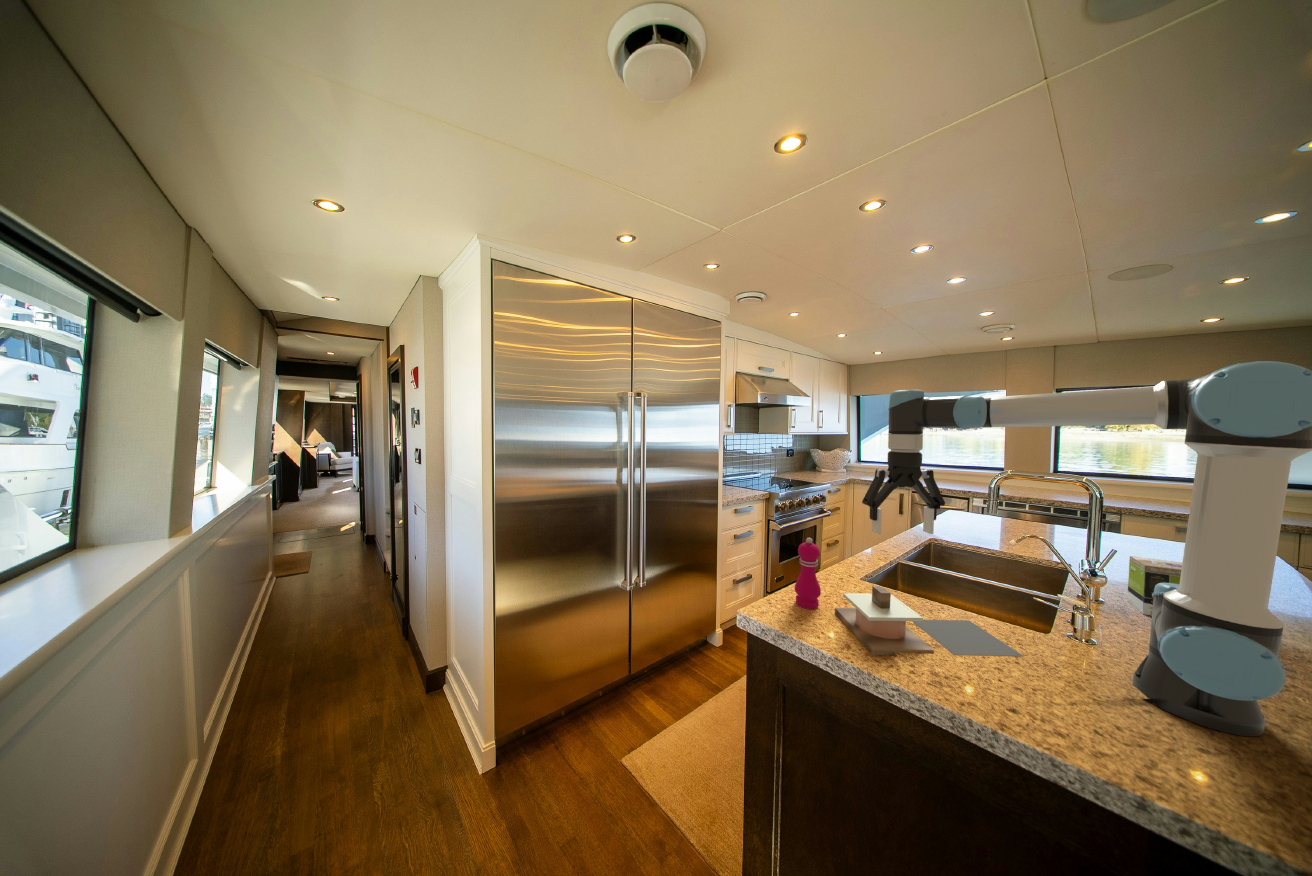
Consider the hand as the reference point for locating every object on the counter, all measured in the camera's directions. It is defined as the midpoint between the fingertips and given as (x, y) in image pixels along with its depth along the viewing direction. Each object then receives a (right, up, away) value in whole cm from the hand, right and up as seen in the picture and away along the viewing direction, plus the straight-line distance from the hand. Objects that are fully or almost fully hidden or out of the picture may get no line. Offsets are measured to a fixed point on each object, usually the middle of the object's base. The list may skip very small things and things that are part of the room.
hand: (902, 532), depth 102 cm
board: (-6, -26, 0) cm, 26 cm away
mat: (+13, -26, -3) cm, 29 cm away
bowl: (-6, -24, 0) cm, 25 cm away
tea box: (+85, -27, +11) cm, 90 cm away
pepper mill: (-19, -25, +15) cm, 35 cm away
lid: (-6, -19, -1) cm, 20 cm away
